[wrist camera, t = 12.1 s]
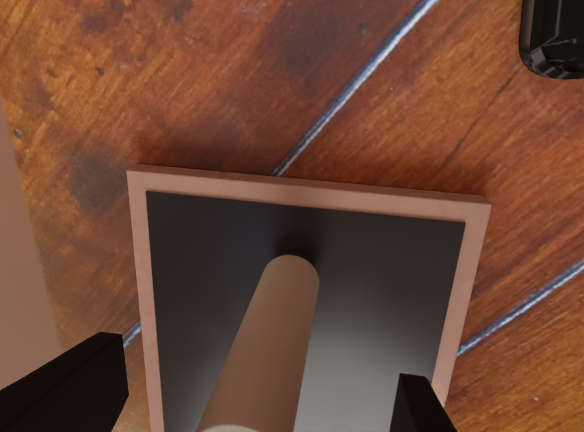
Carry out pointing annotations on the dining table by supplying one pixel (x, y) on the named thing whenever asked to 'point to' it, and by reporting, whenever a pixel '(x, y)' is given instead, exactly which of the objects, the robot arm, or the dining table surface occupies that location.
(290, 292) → the stylus
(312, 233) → the tablet
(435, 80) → the dining table surface
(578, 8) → the phone
